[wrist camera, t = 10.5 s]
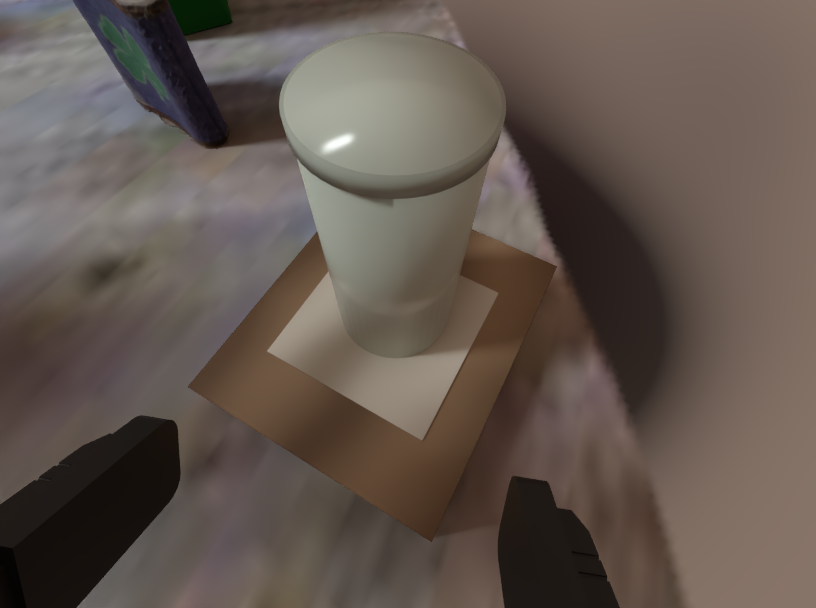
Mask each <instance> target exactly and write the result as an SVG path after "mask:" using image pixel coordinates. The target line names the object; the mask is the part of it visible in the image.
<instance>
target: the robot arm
mask: <svg viewBox="0 0 816 608" xmlns="http://www.w3.org/2000/svg"><path fill="white" fill-rule="evenodd" d="M179 481H180V457H179V443H178V429H177V425H176V423H175V422H174V421H173V420H168V419H161V418H155V417H149V416H142V415H141V416H137V417H135V418H134V419H132V420H131V421H130V422H128V423H127V424H126V425H124V426H123V427H121V428H120V429H119V430H117V431H116V432H115V433H113V434H108V435H106V436H103V437H101V438H99V439H97V440H94V441H92V442H90V443H88V444H86V445H83V446H82V447H80V448H79V449H77V450H76V451H75V452H73V453H72V454H70V455H69V456H68V457H66V458H65V459H63V460H62V461H61V462H59V465H58V466H54V467H52V468H51V469H49V470H48V471H47V472H45V473H44V474H42V475H41V476H40V477H39V479H38V480H37V481H36V480H34V481H33V482H31V483H30V484H28V485H27V486H26V487H24V488H23V489H21V490H20V491H19V492H17V493H16V494H14V495H13V496H12V497H10V498H9V499H7V500H6V501H5V502H3V503H2V504H0V608H77V606H78V605H79V604H80V603H81V602H82V601H83V600H84V598H85V597H86V596H87V595H88V594H89V593H90V592H91V590H92V589H93V588H94V587H95V586H96V585H97V584H98V583H99V581H100V580H101V579H102V578H103V577H104V576H105V575H106V573H107V572H108V571H109V570H110V569H111V568H112V567H113V565H114V564H115V563H116V562H117V561H118V560H119V559H120V557H121V556H122V555H123V554H124V553H125V552H126V551H127V550H128V548H129V547H130V546H131V545H132V544H133V543H134V542H135V540H136V539H137V538H138V537H139V536H140V535H141V534H142V532H143V531H144V530H145V529H146V528H147V527H148V526H149V525H150V523H151V522H152V521H153V520H154V519H155V518H156V517H157V515H158V514H159V513H160V512H161V511H162V510H163V509H164V507H165V506H166V505H167V504H168V503H169V502H170V500H171V499H172V497H173V496H174V494H175V492H176V490H177V487H178V484H179ZM498 561H499V568H500V576H501V584H502V591H503V599H504V607H505V608H620V607H619V605H618V602H617V600H616V597H615V595H614V592H613V590H612V587H611V585H610V582H608V581H607V575H606V572H605V570H604V567H603V565H602V562H601V561H600V560H599V555H598V553H597V550H596V548H595V545H594V543H593V540H592V538H591V535H590V533H589V531H588V530H587V529H586V527H585V526H584V525H583V524H582V523H581V521H580V520H579V519H578V518H577V516H576V515H575V514H574V513H573V512H572V510H566V509H560V508H557V506H556V503H555V500H554V497H553V494H552V491H551V488H550V486H549V484H548V482H547V481H542V480H536V479H530V478H523V477H517V476H513V477H512V478H511V481H510V484H509V489H508V493H507V498H506V502H505V506H504V511H503V515H502V519H501V524H500V529H499V536H498Z"/></svg>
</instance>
